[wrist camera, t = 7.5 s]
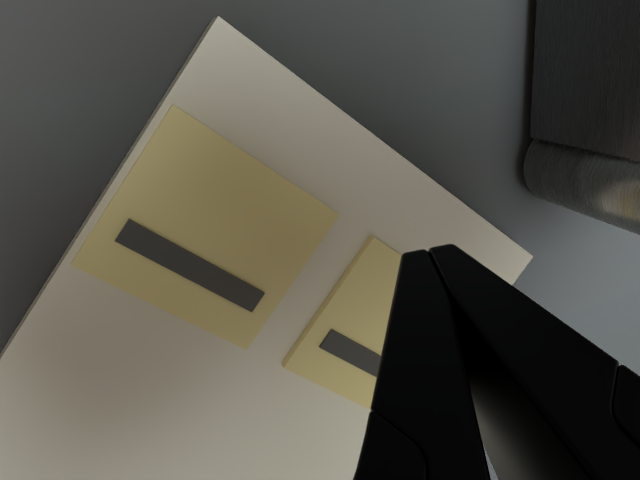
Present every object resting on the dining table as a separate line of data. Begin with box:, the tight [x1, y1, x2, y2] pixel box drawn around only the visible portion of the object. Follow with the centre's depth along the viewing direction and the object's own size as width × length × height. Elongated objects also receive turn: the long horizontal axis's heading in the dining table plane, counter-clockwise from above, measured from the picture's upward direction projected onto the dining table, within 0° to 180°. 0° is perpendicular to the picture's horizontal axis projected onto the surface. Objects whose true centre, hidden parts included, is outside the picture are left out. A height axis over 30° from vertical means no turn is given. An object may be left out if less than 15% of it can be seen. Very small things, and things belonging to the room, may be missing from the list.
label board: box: [0, 16, 533, 480], centre depth 18 cm, size 15×13×2 cm
